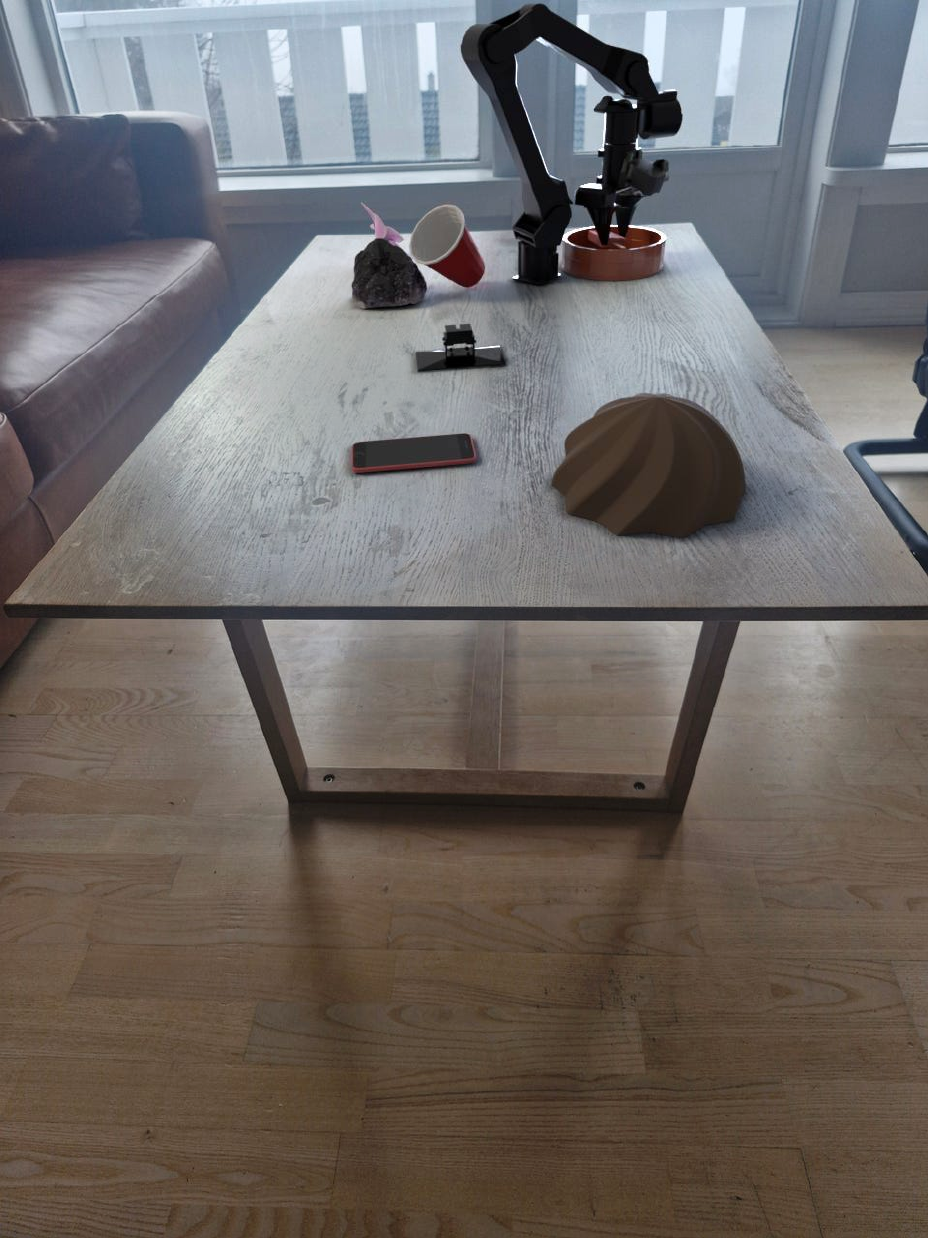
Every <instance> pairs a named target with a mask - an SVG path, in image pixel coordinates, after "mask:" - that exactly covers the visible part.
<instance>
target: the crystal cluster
mask: <svg viewBox="0 0 928 1238" xmlns="http://www.w3.org/2000/svg"><path fill="white" fill-rule="evenodd" d="M400 247H401V246H400ZM400 247H398V246H396V245H392V244H391V243H390V241H389V240H388V239H383V238H376V237H375V238H374V239H373V240H372V241H370V242H368V244H367V245H366V246H365V248H364V249H363V250H360V251H359V252H357V253H356V255H355V256H354V262H353V263H354V264H353V281H352V282H351V298H352V302H354V303H355V305H356V306H357V307H358V308H359V309H363V310H364V309H375V308H382V307H383V308H384V307H399V306H405V305H408V304H412V305H415V304H417V303H420V302H421V301H423V300H424V299H425V298H426V293H427V291H428V283H427V281H426V278H425V276H424V274H423V273H422V271H421V270H420V269H419V267H418V265H417V263H416V262H415V261H414V260H413V258H412V257H411V256H409V255H408V254H407V252H406V251H405V250H404V249H403V248H402V247H401V248H400Z"/></svg>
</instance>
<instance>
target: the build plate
mask: <svg viewBox="0 0 928 1238" xmlns="http://www.w3.org/2000/svg"><path fill="white" fill-rule="evenodd" d="M442 334H443V336H441V337H442V338H441V340H442V344H443V349H440V350H428V351H416V352H415V359H416V360H415V361H416V369H417V373H425V372H427V373H428V372H439V371H440V372H441V371H452V370H465V369H478V368H501V367H504V366H506V365H507V362H506V359H505V356H504V354H503V351H502V348H501V346H500V345H493V346H481V347H476V344H477V340H476V336H475V334H474V330H473V328H472V326H471V323H460V324H459V328H458V327H457V325H456V324H446V325H444V332H443V333H442ZM464 344H465V345H468V346H465V347H454V345H464ZM469 345H470V346H469ZM448 347H449V348H448Z"/></svg>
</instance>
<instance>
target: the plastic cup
mask: <svg viewBox="0 0 928 1238" xmlns="http://www.w3.org/2000/svg"><path fill="white" fill-rule="evenodd" d="M465 221H466V220H465V217H464V213H463V211H462V210H461V209H460V208H459V207H458V206H457V205H453V204H450V203H449V204H448V203H447V204H443V205H439V206H436V207H435V208H433V209H431V210H430V211H429V212H427V213H426V214H425V215H424V216H423V217H422V218H420V220H419V221H418V222H417V223H416V225H415V227H414V229H413V231H412V233H411V234H410V239H409V243H408V249H409V255H410V256H409V257H411V259H412V260H413V261H414V262H415V263H416V264H420V265H424V266H425V267H427V268H429V269H432V270H433V271H435V272H436V273H438V274H439V275H441V276H442V277H444V278H446V279H447V280H449V281H451V282H453V283H455V284H456V285H458V286H460V287H462V288H465V289H467V288H472V287H474V286H476V285H478V283H479V282H481V280H482V279H483V277H484V274H485V272H486V265H485V264H486V263H485V261H484V258H483V256H482V254H481V253H480V251H479V248H478V246H477V245H476V242H475V241H474V239H473V237H472V235H471V233H470V232H469V230H468V227H467V225H466V222H465Z"/></svg>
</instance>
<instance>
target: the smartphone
mask: <svg viewBox="0 0 928 1238" xmlns="http://www.w3.org/2000/svg"><path fill="white" fill-rule="evenodd" d="M350 457H351V458H350V460H351V461H350V469H351V471H352V472H353V473H357V474H362V473H374V472H384V471H385V472H387V471H398V470H410V469H420V468H431V467H432V468H433V467H444V466H455V465H456V466H457V465H466V464H467V465H468V464H473V463H475V462H476V460H477V453H476V449H475V445H474V441H473V437H472V435H471V434H469V433H467V432H465V433H464V432H463V433H452V434H451V433H450V434H438V435H428V436H427V435H426V436H416V437H403V438H390V439H381V440H379V439H378V440H367V441H357V442H354V443H353V444H352V445H351V455H350Z"/></svg>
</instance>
